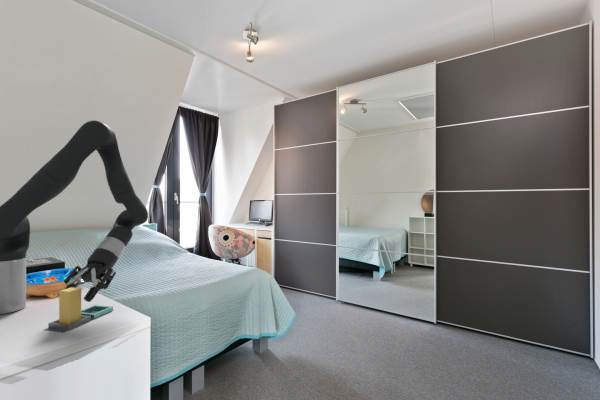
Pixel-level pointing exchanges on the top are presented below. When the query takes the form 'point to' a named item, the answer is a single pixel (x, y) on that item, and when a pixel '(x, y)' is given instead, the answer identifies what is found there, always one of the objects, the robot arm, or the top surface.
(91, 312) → the base
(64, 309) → the peg
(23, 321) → the top surface
